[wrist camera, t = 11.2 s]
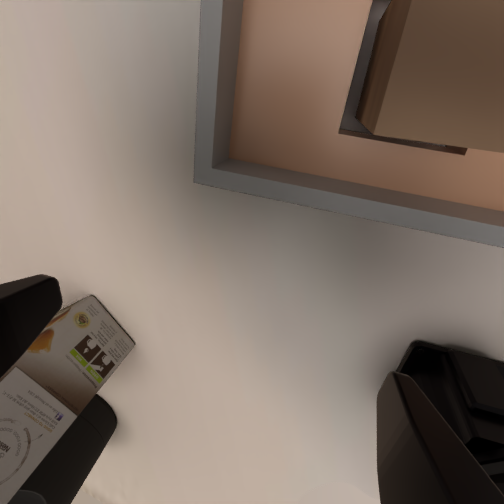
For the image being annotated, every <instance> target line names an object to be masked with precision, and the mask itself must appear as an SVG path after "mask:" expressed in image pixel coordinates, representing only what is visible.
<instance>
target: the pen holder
mask: <svg viewBox="0 0 504 504" xmlns="http://www.w3.org/2000/svg"><path fill="white" fill-rule="evenodd" d="M115 428H116V418H115V415H114V413H113V411H112V409H111V408H110V407H109V406H108V404H107V403H106V402H105V401H103V400H102V399H101V398H100V397H99V396H97V395H96V394H95V396H94V397H93V398H92V399H91V401H90V402H89V403H88V404H87V405H86V407H85V408H84V409H83V410H82V412H81V413H80V414H79V415H78V417H77V418H76V419H75V421H74V422H73V423H72V424H71V426H70V427H69V428H68V429H67V431H66V432H65V433H64V434H63V435H62V437H61V438H60V439H59V440H58V442H57V443H56V444H55V445H54V447H53V448H52V449H51V450H50V451H49V453H48V454H47V455H46V456H45V458H44V459H43V460H42V461H41V463H40V464H39V465H38V467H37V468H36V469H35V470H34V472H33V473H32V474H31V475H30V476H29V478H28V479H27V480H26V481H25V483H24V484H23V485H22V486H21V488H20V489H19V490H18V491H17V493H16V494H15V495H14V496H13V498H12V499H11V500H10V501H9V503H8V504H71V502H72V500H73V499H74V497H75V496H76V494H77V492H78V491H79V489H80V488H81V486H82V484H83V483H84V481H85V479H86V478H87V476H88V474H89V473H90V471H91V469H92V468H93V466H94V464H95V463H96V461H97V459H98V458H99V456H100V454H101V453H102V451H103V449H104V448H105V446H106V444H107V443H108V441H109V439H110V437H111V436H112V434H113V432H114V430H115Z"/></svg>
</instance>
